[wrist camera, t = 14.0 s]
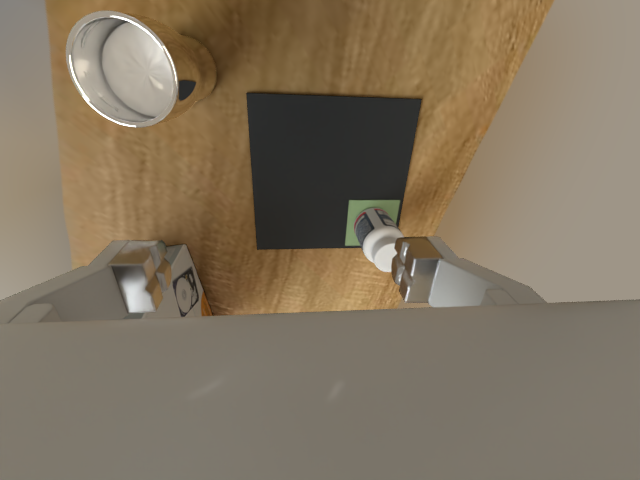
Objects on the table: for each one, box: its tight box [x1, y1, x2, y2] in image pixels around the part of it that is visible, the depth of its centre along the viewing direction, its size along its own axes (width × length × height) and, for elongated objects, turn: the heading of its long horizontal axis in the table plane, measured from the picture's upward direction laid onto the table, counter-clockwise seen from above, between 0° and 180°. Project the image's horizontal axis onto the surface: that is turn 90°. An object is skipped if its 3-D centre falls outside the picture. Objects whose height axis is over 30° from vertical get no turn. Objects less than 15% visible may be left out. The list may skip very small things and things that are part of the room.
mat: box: [247, 93, 421, 249], centre depth 40 cm, size 20×20×1 cm
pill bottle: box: [354, 208, 404, 272], centre depth 40 cm, size 5×5×9 cm
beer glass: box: [66, 11, 217, 127], centre depth 26 cm, size 7×7×15 cm
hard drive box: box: [123, 244, 213, 319], centre depth 38 cm, size 16×8×20 cm, turn 7°
